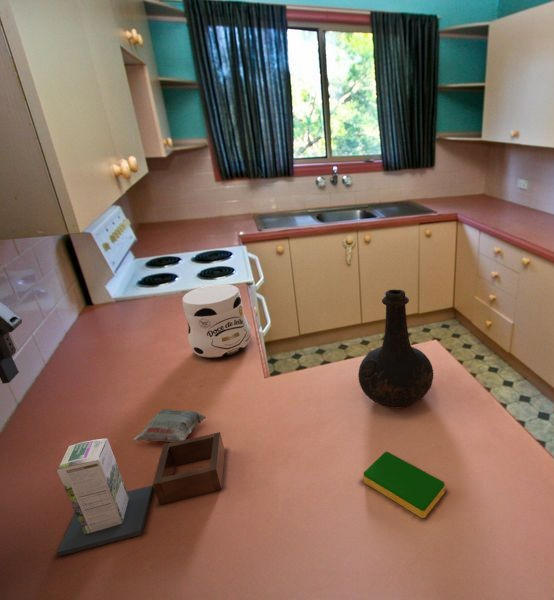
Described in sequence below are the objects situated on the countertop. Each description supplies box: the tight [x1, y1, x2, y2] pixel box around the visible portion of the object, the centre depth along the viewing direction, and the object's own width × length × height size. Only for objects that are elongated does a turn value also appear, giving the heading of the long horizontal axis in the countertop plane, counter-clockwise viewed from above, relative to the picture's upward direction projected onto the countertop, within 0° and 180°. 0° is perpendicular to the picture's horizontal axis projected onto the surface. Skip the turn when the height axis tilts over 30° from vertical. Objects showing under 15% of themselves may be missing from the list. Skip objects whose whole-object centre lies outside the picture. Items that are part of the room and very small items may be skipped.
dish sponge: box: [363, 451, 446, 519], centre depth 79 cm, size 7×14×2 cm, turn 53°
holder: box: [152, 432, 226, 505], centre depth 82 cm, size 11×11×5 cm
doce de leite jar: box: [181, 283, 252, 359], centre depth 126 cm, size 17×17×18 cm
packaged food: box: [133, 408, 206, 443], centre depth 93 cm, size 9×12×5 cm
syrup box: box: [56, 437, 129, 534], centre depth 71 cm, size 6×6×14 cm
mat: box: [56, 485, 155, 557], centre depth 74 cm, size 12×10×1 cm
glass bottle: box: [357, 289, 434, 409], centre depth 99 cm, size 18×18×28 cm
